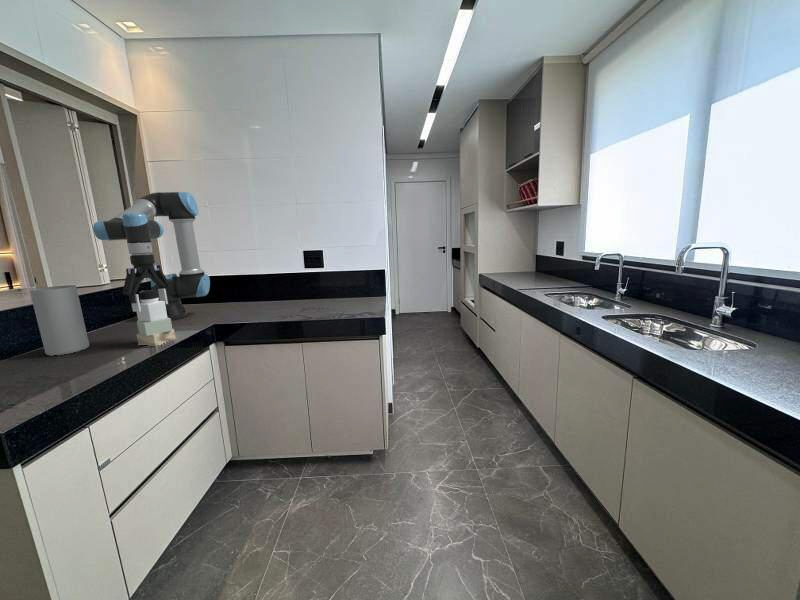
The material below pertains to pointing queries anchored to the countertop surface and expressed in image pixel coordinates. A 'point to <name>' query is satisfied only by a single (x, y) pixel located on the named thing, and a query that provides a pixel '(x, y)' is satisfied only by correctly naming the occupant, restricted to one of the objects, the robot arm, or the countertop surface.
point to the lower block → (156, 338)
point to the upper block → (154, 326)
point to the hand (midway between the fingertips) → (151, 307)
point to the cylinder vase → (60, 319)
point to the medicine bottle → (151, 307)
